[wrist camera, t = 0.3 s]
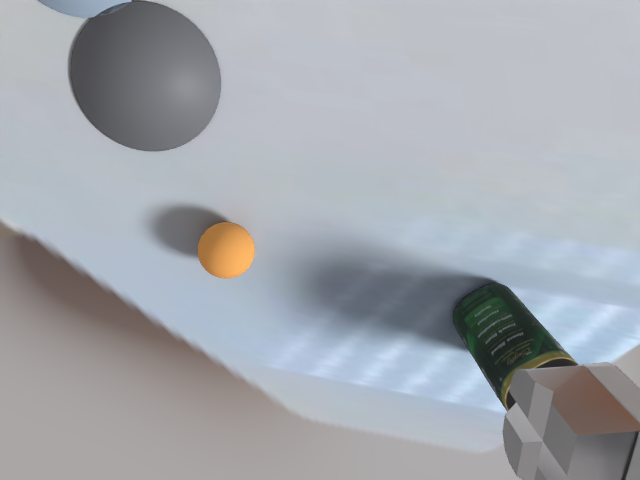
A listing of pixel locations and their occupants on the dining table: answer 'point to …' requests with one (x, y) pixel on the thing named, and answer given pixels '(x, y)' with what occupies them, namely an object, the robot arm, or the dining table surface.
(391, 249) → the dining table surface
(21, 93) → the dining table surface
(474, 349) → the coffee jar
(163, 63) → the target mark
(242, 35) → the dining table surface
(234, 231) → the ball
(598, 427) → the robot arm
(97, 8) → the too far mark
